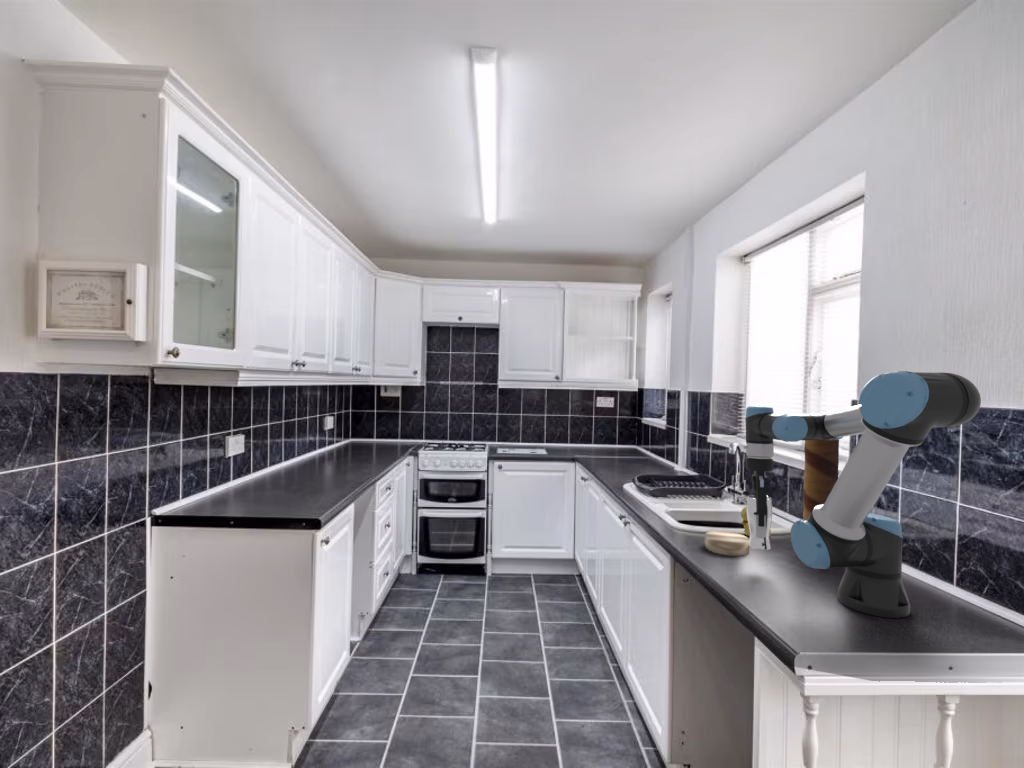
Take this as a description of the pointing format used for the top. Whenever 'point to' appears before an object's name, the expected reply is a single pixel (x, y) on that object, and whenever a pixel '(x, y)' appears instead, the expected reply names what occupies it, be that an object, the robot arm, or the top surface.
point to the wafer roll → (819, 472)
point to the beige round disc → (727, 543)
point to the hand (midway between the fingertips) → (759, 533)
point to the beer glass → (755, 541)
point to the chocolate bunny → (746, 522)
